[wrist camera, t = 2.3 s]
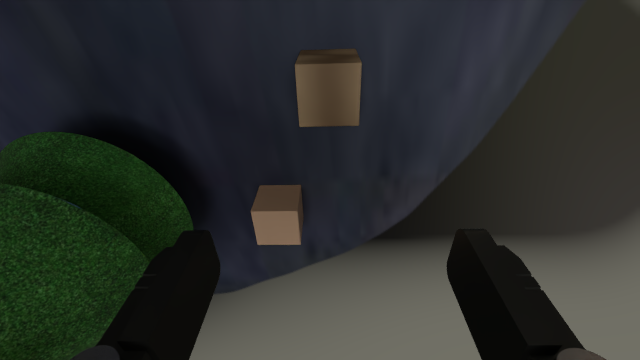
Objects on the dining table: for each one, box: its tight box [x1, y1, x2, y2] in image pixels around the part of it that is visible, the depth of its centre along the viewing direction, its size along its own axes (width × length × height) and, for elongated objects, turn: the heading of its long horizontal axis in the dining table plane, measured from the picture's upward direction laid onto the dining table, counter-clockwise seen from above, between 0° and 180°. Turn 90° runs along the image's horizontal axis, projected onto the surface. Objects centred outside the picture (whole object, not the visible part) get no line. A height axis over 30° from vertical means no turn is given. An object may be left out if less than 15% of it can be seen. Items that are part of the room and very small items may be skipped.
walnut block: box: [295, 49, 362, 127], centre depth 26 cm, size 5×5×6 cm
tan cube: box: [251, 185, 303, 245], centre depth 35 cm, size 5×5×5 cm
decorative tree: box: [0, 132, 194, 360], centre depth 23 cm, size 19×19×30 cm
